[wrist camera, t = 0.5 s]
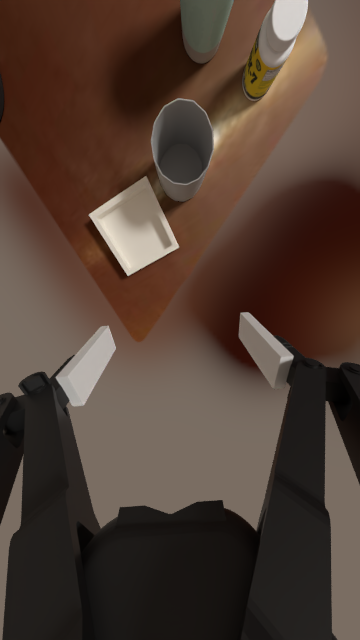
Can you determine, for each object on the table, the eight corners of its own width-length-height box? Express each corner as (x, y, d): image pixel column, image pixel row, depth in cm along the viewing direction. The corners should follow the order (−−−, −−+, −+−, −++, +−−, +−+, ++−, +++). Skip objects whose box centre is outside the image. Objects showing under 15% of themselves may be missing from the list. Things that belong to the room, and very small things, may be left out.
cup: (168, 208, 32) (165, 194, 23) (151, 157, 29) (140, 119, 20) (208, 190, 31) (221, 168, 22) (195, 135, 28) (203, 83, 19)
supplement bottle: (239, 63, 25) (268, -18, 17) (270, 50, 24) (314, -39, 16) (242, 107, 27) (269, 52, 19) (271, 96, 26) (310, 36, 18)
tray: (94, 216, 33) (88, 214, 31) (148, 180, 30) (146, 175, 28) (130, 274, 38) (127, 276, 36) (179, 247, 36) (179, 247, 33)
